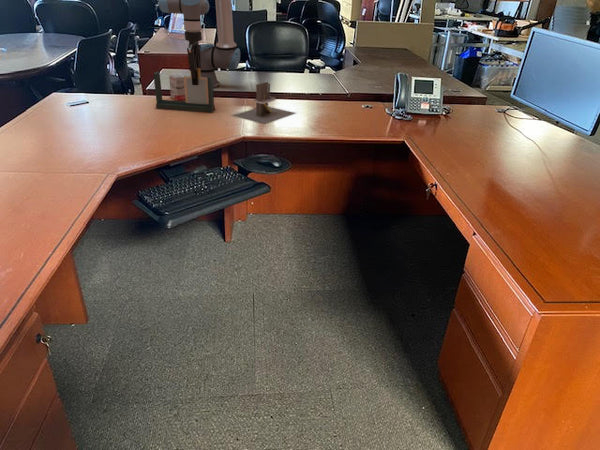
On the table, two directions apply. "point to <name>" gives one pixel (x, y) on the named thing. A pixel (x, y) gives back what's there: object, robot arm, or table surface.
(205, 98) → the window sash
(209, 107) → the window frame
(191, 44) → the robot arm
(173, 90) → the ink box
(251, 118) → the architectural model
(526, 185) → the table surface
